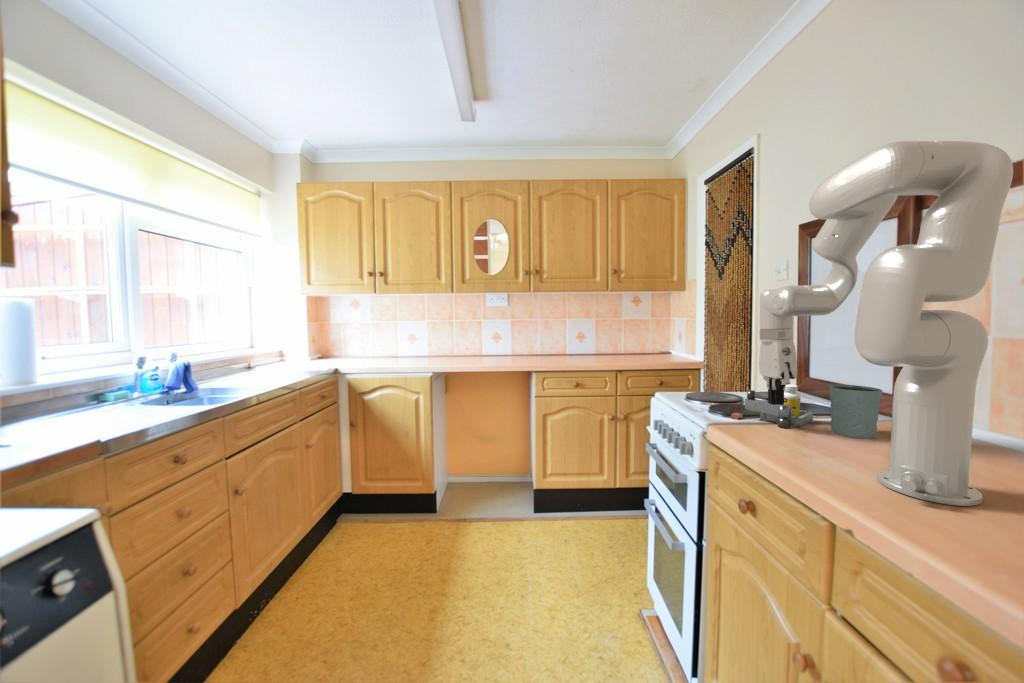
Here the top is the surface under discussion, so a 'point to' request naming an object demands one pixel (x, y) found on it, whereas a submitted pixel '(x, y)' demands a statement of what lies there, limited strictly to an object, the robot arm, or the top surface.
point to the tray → (801, 421)
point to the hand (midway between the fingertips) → (775, 403)
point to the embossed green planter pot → (854, 410)
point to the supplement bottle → (792, 399)
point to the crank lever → (766, 406)
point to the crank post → (782, 421)
